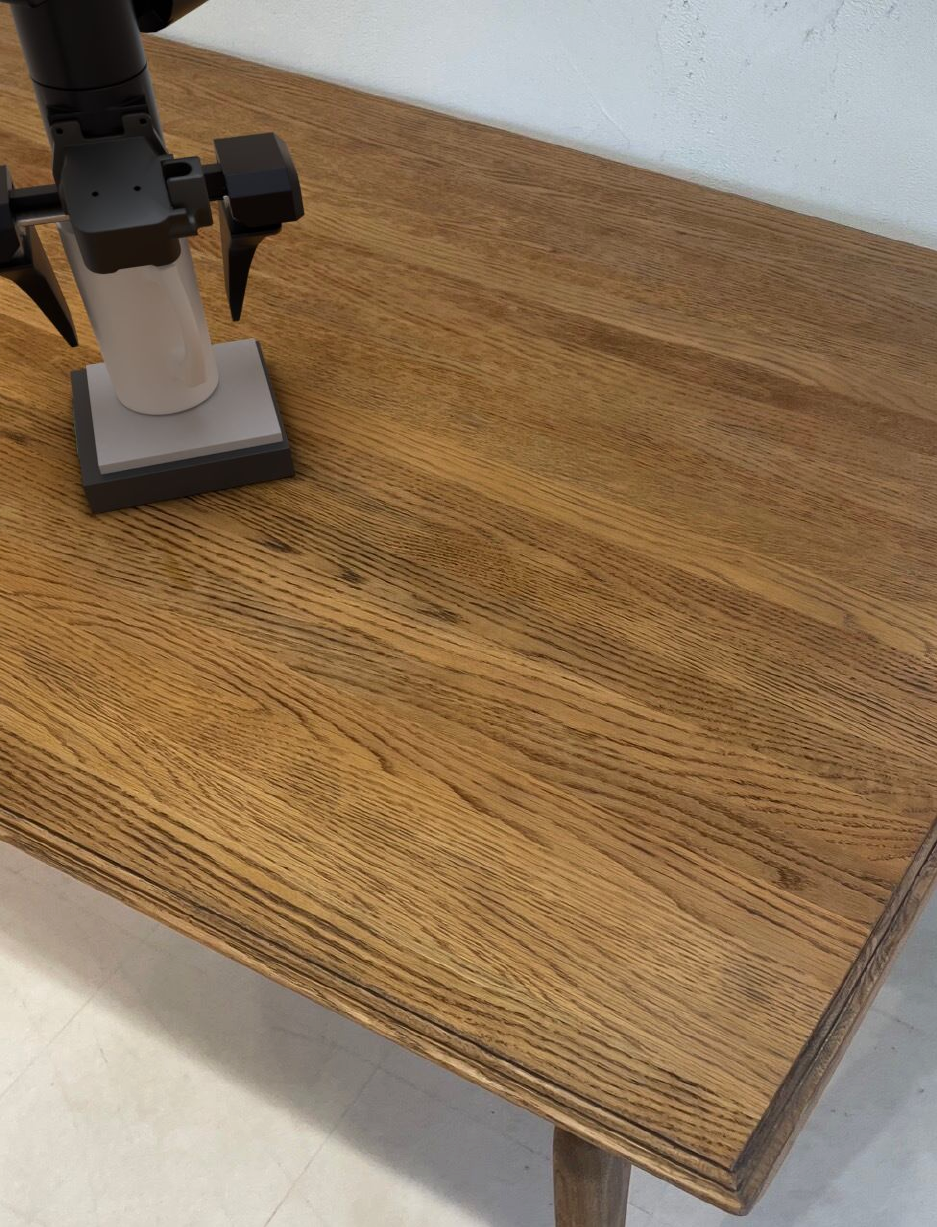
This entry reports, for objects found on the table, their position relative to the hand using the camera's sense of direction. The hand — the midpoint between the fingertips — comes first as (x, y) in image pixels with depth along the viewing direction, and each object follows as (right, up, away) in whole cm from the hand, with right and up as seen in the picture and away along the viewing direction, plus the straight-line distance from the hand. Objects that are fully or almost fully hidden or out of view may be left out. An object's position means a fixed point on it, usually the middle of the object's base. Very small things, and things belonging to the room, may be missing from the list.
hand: (156, 330), depth 77 cm
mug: (0, -3, +4) cm, 5 cm away
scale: (0, -5, +6) cm, 8 cm away
